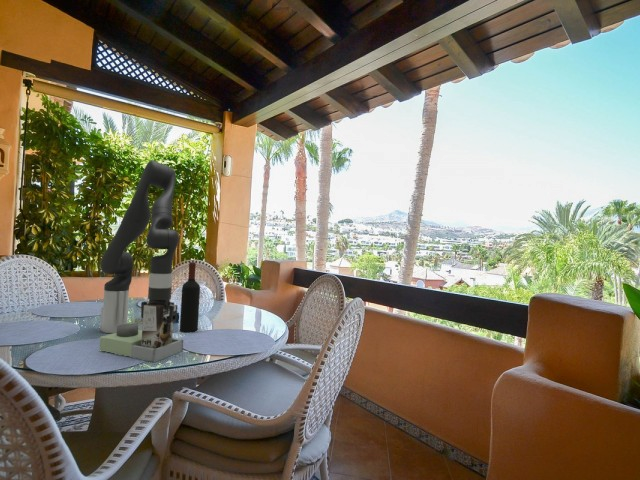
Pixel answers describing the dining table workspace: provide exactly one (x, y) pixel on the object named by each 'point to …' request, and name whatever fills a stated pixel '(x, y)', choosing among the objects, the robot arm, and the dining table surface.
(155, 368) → the dining table surface
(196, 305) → the wine bottle
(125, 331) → the green and grey tray
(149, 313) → the coffee box
